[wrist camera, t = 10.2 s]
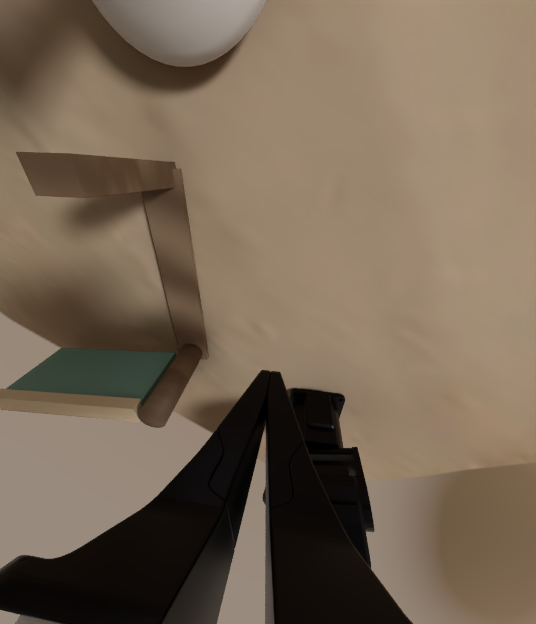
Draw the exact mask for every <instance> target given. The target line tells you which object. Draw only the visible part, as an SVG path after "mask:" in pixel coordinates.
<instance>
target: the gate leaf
mask: <svg viewBox="0 0 536 624" xmlns="http://www.w3.org/2000/svg"><path fill="white" fill-rule="evenodd" d="M175 358H176V353H175V352H150V351H126V350H101V349H76V348H61V349H60V350H58V351H57V352H56V353H54V354H53V355H51V356H50V357H49V358H47V359H46V360H45V361H43V362H42V363H40V364H39V365H38V366H36V367H35V368H34V369H32V370H31V371H30V372H28V373H27V374H25V375H24V376H23V377H21V378H20V379H19V380H17V381H16V382H15V383H13V384H12V385H11V386H9V387H8V388H7V389H0V409H2V410H9V411H21V412H32V413H44V414H56V415H66V416H78V417H90V418H101V419H113V420H124V421H135V422H141V420H140V419H139V418H138V412H139V411H140V410H141V408H142V407H143V405H144V404H145V402H146V401H147V399H148V398H149V396H150V395H151V393H152V392H153V390H154V389H155V387H156V386H157V384H158V383H159V381H160V380H161V379H162V377H163V376H164V374H165V373H166V371H167V370H168V368H169V367H170V365H171V364H172V362H173V361H174V359H175Z"/></svg>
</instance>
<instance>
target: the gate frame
mask: <svg viewBox="0 0 536 624" xmlns="http://www.w3.org/2000/svg"><path fill="white" fill-rule="evenodd" d="M16 154H17V156H18V158H19V160H20V162H21V165H22V167H23V169H24V171H25V173H26V175H27V178H28V180H29V182H30V184H31V186H32V188H33V191H34V193H35V195H36V196H54V197H74V198H89V197H98V196H107V195H115V194H124V193H132V192H141V191H142V196H143V200H144V204H145V208H146V212H147V217H148V221H149V225H150V229H151V233H152V238H153V242H154V246H155V250H156V254H157V259H158V263H159V267H160V271H161V275H162V280H163V284H164V288H165V292H166V297H167V301H168V305H169V309H170V313H171V318H172V322H173V326H174V330H175V334H176V339H177V343H178V347H179V351H180V352H179V353H178V355H177V356H176V358H175V359H174V361H173V362H172V364H171V365H170V367H169V368H168V370H167V371H166V373H165V374H164V376H163V377H162V379H161V380H160V381H159V383H158V384H157V386H156V387H155V389H154V390H153V392H152V393H151V395H150V396H149V398H148V399H147V401H146V402H145V404H144V405H143V407H142V408H141V410H140V411H139V412H138V418H139V419H140V420H141V421H142V422H143V423H145V424H146V425H148V426H151V427H156V428H160V427H163V426H165V424H166V422H167V420H168V419H169V417H170V415H171V413H172V411H173V409H174V408H175V406H176V404H177V402H178V400H179V398H180V396H181V395H182V393H183V391H184V389H185V387H186V385H187V383H188V381H189V380H190V378H191V376H192V374H193V372H194V370H195V368H196V367H197V365H198V363H199V361H200V359H206V360H207V359H208V357H209V354H208V347H207V341H206V334H205V327H204V320H203V314H202V307H201V300H200V294H199V287H198V280H197V273H196V267H195V260H194V253H193V246H192V240H191V233H190V226H189V219H188V213H187V206H186V199H185V192H184V186H183V179H182V172H181V169H176V166H175V162H165V161H153V160H141V159H129V158H117V157H105V156H92V155H80V154H67V153H34V152H16Z"/></svg>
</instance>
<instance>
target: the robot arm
mask: <svg viewBox="0 0 536 624" xmlns="http://www.w3.org/2000/svg"><path fill="white" fill-rule="evenodd" d="M344 402H345V397H344V396H343V395H340V394H332V393H324V392H315V391H307V390H299V389H293V390H291V396H290V399H289V396H288V393H287V390H286V387H285V384H284V381H283V379H282V376H281V373H280V372H276V371H271V372H270V371H267V370H262V371H260V373H259V374H258V375H257V377H256V378H255V379H254V381H253V382H252V383H251V385H250V386H249V387H248V389H247V390H246V391H245V393H244V394H243V395H242V396H241V398H240V399H239V400H238V402H237V403H236V404H235V406H234V407H233V408H232V410H231V411H230V412H229V414H228V415H227V416H226V418H225V419H224V420H223V421H222V423H221V424H220V425H219V427H218V428H217V430H216V431H215V432H214V433H213V434H212V436H211V437H210V438H209V440H208V441H207V442H206V444H205V445H204V446H203V447H202V448H201V450H200V451H199V452H198V453H197V454H196V455H195V456H194V457H193V459H192V460H191V461H190V462H189V463H188V464H187V465H186V466H185V467H184V468H183V469H182V470H181V471H180V472H179V473H178V475H177V476H176V477H175V478H174V479H173V480H172V481H171V482H170V483H169V484H168V485H167V486H166V487H165V488H164V489H163V491H161V492H160V494H159V495H158V496H157V497H155V498H154V499H153V500H152V501H151V502H150V503H149V504H147V505H146V506H145V507H143V508H142V509H141V510H139V511H138V512H136V513H134V514H133V515H131V516H130V517H128V518H127V519H125V520H123V521H122V522H120V523H118V524H117V525H115V526H114V527H112V528H110V529H109V530H107V531H106V532H104V533H102V534H101V535H99V536H98V537H96V538H95V539H93V540H92V541H90V542H88V543H87V544H85V545H83V546H82V547H80V548H78V549H77V550H75V551H73V552H71V553H69V554H66V555H64V556H62V557H58V558H54V559H44V558H40V557H34V556H28V555H21V556H18V557H17V558H15V559H14V560H13V561H11V562H10V563H8V564H7V565H6V566H4V567H3V568H1V569H0V610H3V611H7V612H12V613H16V614H20V617H19V618H18V620H17V622H16V623H15V624H217V620H218V616H219V611H220V607H221V603H222V599H223V595H224V591H225V586H226V583H227V579H228V574H229V571H230V566H231V562H232V558H233V554H234V548H235V545H236V542H237V538H238V533H239V529H240V525H241V521H242V517H243V513H244V509H245V505H246V501H247V497H248V492H249V488H250V484H251V480H252V476H253V472H254V468H255V464H256V460H257V455H258V451H259V447H260V443H261V439H262V435H263V431H264V427H265V422H266V487H265V490H264V493H263V501H264V503H265V505H266V561H265V562H266V563H265V566H266V567H265V583H266V584H265V592H266V593H265V624H413V623H412V622H411V621H410V620H409V619H408V618H407V617H406V615H405V614H404V613H403V611H402V610H401V609H400V607H399V606H398V605H397V603H396V602H395V601H394V599H393V598H392V597H391V595H390V594H389V593H388V591H387V590H386V589H385V587H384V586H383V585H382V583H381V582H380V581H379V579H378V578H377V577H376V575H375V574H374V573H373V571H372V570H371V561H370V555H369V549H368V543H367V537H366V531H367V532H374V524H373V518H372V512H371V506H370V501H369V496H368V491H367V486H366V482H365V478H364V474H363V469H362V465H361V461H360V457H359V452H358V448H357V447H352V448H343V442H342V436H341V429H340V423H339V417H340V414H341V411H342V408H343V405H344Z"/></svg>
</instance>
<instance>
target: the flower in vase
mask: <svg viewBox="0 0 536 624" xmlns="http://www.w3.org/2000/svg"><path fill="white" fill-rule="evenodd" d="M92 1H93V3H94V4H95V6H96V7H97V9H98V10H99V12H100V13H101V14H102V16H103V17H104V18H105V19H106V20H107V22H108V23H109V24H110V25H111V26H112V28H113V29H114V30H115V31H116V32H117V33H118V34H119V35H120V36H121V37H122V38H123V39H124V40H125V41H126V42H128V43H129V44H130V45H131V46H133V47H134V48H135V49H137V50H138V51H139V52H141V53H143V54H144V55H146V56H148V57H149V58H151V59H153V60H156V61H158V62H161V63H164V64H167V65H172V66H177V67H192V66H198V65H203V64H206V63H208V62H211V61H213V60H216V59H217V58H219V57H220V56H222V55H224V54H225V53H227V52H228V51H229V50H230V49H231V48H233V47H234V46H235V45H236V44H237V43H238V42H239V41H240V40H241V39H242V38H243V37H244V35H245V34H246V33H247V32H248V31H249V29H250V28H251V27H252V25H253V23H254V22H255V20H256V19H257V17H258V16H259V14H260V13H261V11H262V9H263V7H264V5H265V3H266V1H267V0H92Z"/></svg>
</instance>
